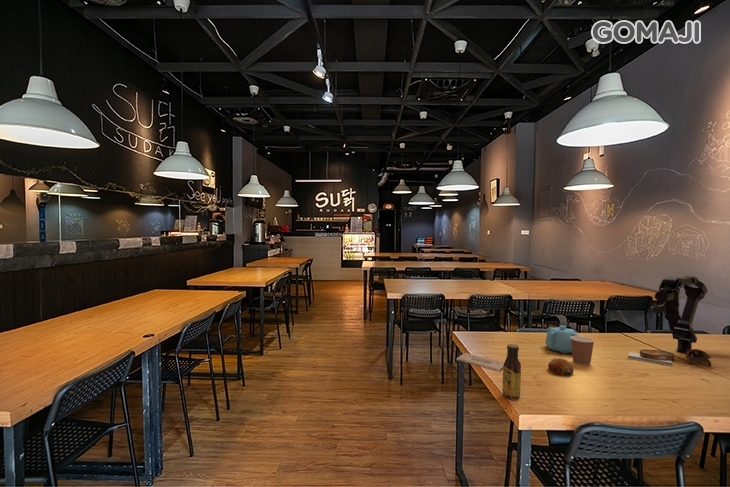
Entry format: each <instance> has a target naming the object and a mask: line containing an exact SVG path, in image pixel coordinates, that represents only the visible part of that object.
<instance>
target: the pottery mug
mask: <svg viewBox="0 0 730 487" xmlns="http://www.w3.org/2000/svg"><path fill="white" fill-rule="evenodd" d="M685 354H686V364H688V365H690V364H704V363H705V364H708V365H709V366H711V365H712V362H711V361H710V360H711V359H712V358H711V357H710V355H709V354H708V353H707V352H706V351H704V350H702V349H699V348H693V349H687V350H686V353H685Z"/></svg>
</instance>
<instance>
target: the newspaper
mask: <svg viewBox="0 0 730 487" xmlns="http://www.w3.org/2000/svg"><path fill="white" fill-rule="evenodd" d="M455 360H456V361H459V362H462V363H467V364H470V365H472V366H473V365H474V366H477V367H481V368H484V369H488V370H492V371H496V372H500V371H501V369H502V370H503V365H504V362H503V361H498V360H494V359H491V358H486V357H482V356H479V355H474V354H471V353H467V352H465V353H463V354H461V355H459V356H458V357H457V358H456V359H455Z"/></svg>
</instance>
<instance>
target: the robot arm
mask: <svg viewBox="0 0 730 487" xmlns="http://www.w3.org/2000/svg"><path fill="white" fill-rule="evenodd" d="M681 288H683V290H684V293H685V296H686V301H685V305H684V307H683V310H682V314H681V315H680V293H681ZM658 290H659V291H656V292H655V294H654V299H655V300H656V301H657V302H659V303H663V304H657V305H653V306H650V309H651V311H652V313H653V314H658V313H662V312H663V317H664V319H666V321H667V322H668V326H669V330H670V331H671V335H672V339H673V340H677V347H676V349H675V350H676V352H679V353H684V354H686V350H687V349H692V348H693V345H692V344H696V343H697V341H698V337H697V336H696V334H695V329H694V326H693V321H694V319H695V315H696V311H697V308H698V305H699V302H700V301H701V300H703V299H704V298H705V297H706V294H708V288H707V286H706V285H705V283H704V282H702V281H700V280H699V279H698V277H696V276H689V275H687V276H683V277H682V276H681V277H680V276H679V277H670V276H664V277H663V279H662V280H661V282H660V284H659V286H658Z"/></svg>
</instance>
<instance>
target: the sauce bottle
mask: <svg viewBox="0 0 730 487" xmlns="http://www.w3.org/2000/svg"><path fill="white" fill-rule="evenodd" d="M506 349H507V350H506V351H507V353H506V357H505V360H504V362H503V363H504V365H503V368H502V395H503V397H504V398H506V399H507V400H510V401H511V400H512V401H516V400H519V399H520V396H521V386H522V385H521V381H522V378H521V376H522V369H521V368H522V365H521V362H520V360H519V349H520V348H519V346H518V345H517V344H511V343H510V344H507V346H506Z"/></svg>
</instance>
